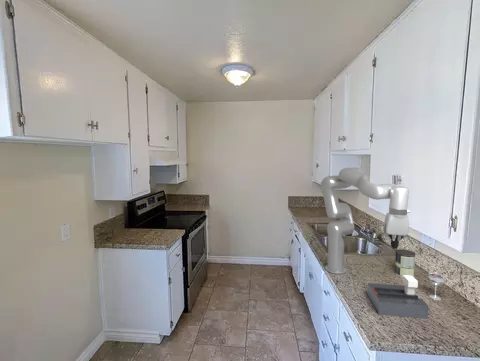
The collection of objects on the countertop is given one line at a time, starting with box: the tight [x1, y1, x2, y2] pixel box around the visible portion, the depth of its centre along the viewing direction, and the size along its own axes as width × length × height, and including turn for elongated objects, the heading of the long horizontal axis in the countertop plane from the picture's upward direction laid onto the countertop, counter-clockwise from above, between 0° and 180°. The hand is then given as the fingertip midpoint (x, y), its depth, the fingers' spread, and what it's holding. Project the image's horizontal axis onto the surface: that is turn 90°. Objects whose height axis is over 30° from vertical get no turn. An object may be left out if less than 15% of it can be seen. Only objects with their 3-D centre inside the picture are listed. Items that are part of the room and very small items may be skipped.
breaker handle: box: [402, 275, 419, 295], centre depth 125 cm, size 6×4×8 cm, turn 170°
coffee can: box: [394, 248, 416, 278], centre depth 159 cm, size 10×10×14 cm
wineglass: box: [427, 271, 446, 301], centre depth 133 cm, size 7×7×12 cm
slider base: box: [366, 282, 429, 320], centre depth 127 cm, size 18×20×7 cm
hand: (394, 247), depth 130 cm, fingers closed
